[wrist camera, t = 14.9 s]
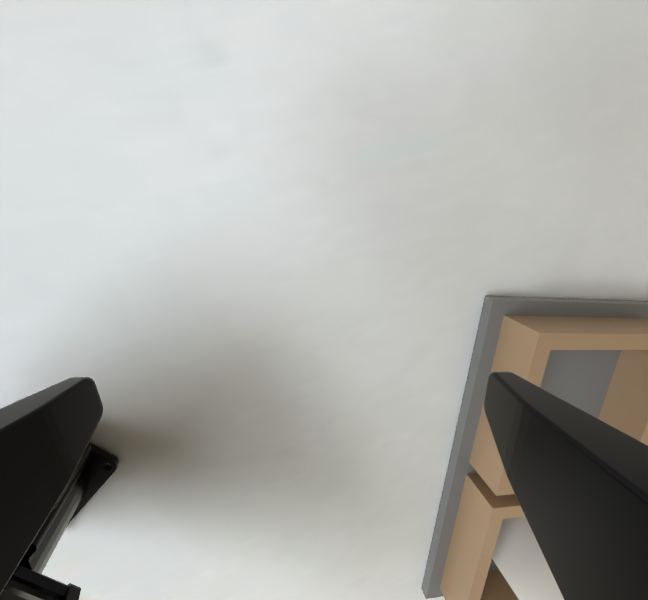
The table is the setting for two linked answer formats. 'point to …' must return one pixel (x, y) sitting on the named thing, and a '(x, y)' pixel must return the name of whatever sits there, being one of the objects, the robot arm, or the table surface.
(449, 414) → the table surface
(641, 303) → the well tray
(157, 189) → the table surface
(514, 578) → the eye dropper bottle
